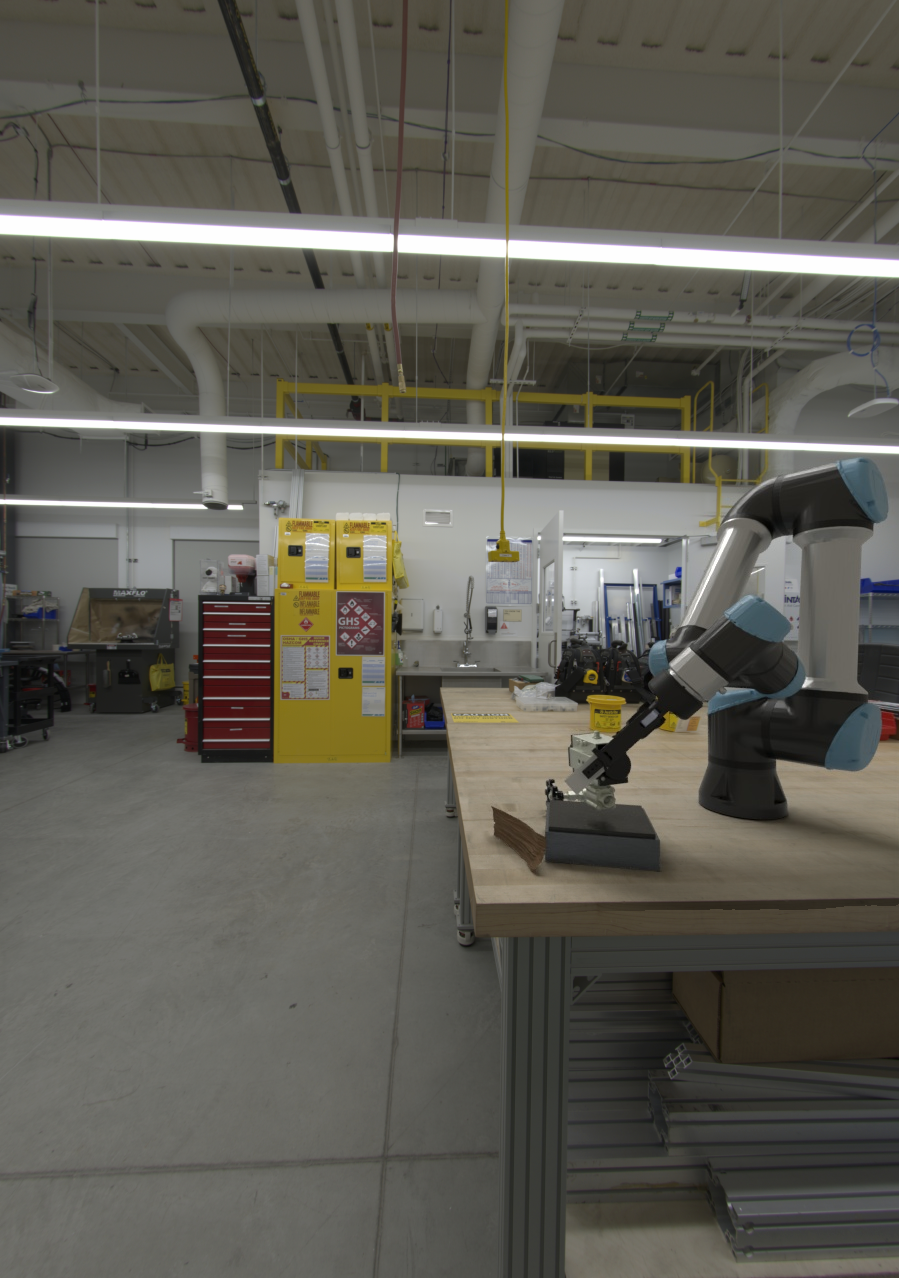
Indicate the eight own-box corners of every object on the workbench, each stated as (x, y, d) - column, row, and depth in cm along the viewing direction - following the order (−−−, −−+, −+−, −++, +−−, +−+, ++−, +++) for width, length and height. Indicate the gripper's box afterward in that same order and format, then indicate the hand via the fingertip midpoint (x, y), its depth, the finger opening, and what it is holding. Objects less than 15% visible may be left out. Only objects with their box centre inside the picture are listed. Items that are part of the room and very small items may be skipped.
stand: (643, 834, 86) (643, 804, 86) (660, 871, 72) (659, 835, 72) (547, 827, 89) (547, 798, 89) (545, 861, 75) (545, 827, 75)
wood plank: (486, 836, 85) (486, 806, 85) (497, 834, 86) (496, 804, 86) (535, 875, 71) (535, 839, 71) (548, 872, 72) (547, 836, 72)
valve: (604, 806, 101) (544, 808, 100) (604, 773, 101) (544, 774, 100) (617, 818, 94) (553, 820, 93) (617, 782, 94) (553, 783, 93)
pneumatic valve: (595, 794, 87) (591, 724, 87) (635, 817, 75) (630, 735, 75) (565, 798, 85) (561, 727, 85) (601, 822, 74) (596, 739, 74)
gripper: (705, 713, 63) (579, 820, 71) (706, 695, 84) (609, 779, 91) (659, 670, 66) (542, 777, 73) (671, 663, 86) (579, 747, 93)
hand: (579, 778), depth 82 cm, fingers closed on pneumatic valve, 10 cm apart
